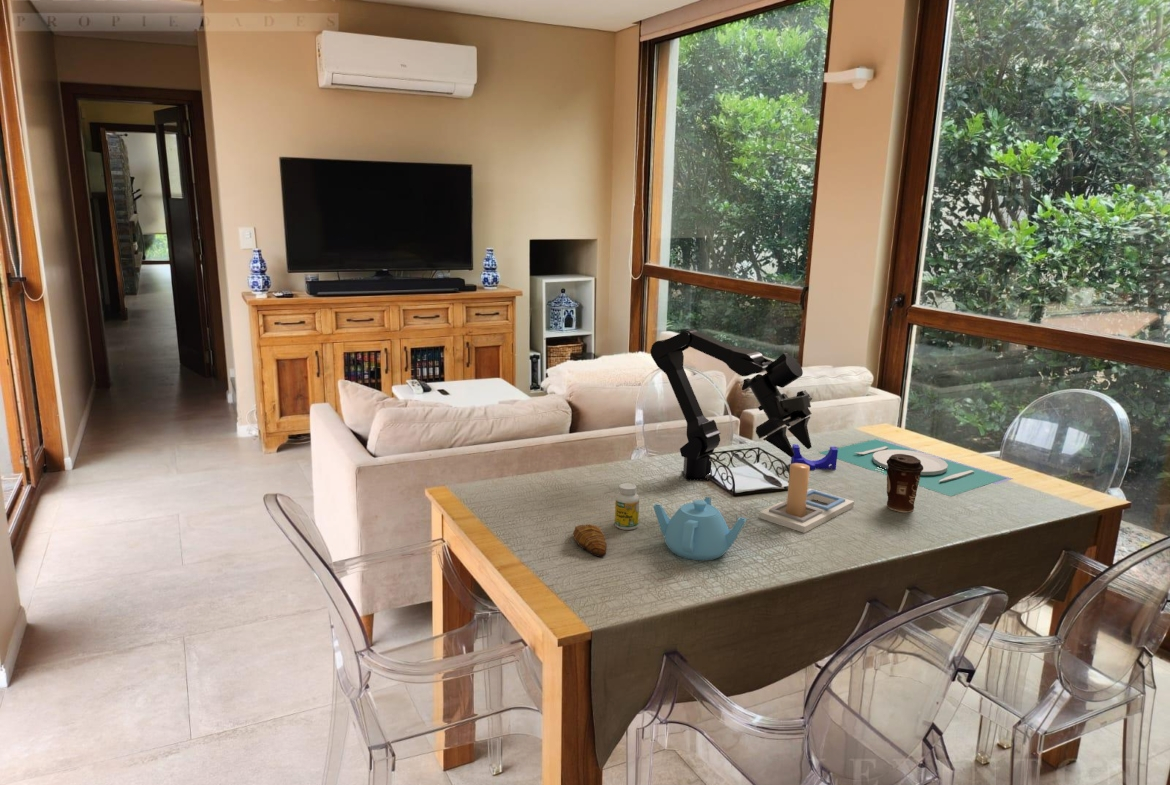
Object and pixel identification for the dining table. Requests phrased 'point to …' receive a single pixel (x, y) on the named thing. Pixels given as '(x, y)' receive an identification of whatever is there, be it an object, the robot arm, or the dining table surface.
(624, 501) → the supplement bottle
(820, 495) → the socket tray
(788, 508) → the orange plug
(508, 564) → the dining table surface
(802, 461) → the blue cradle holder
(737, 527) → the teapot
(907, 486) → the coffee cup
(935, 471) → the place mat
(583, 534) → the croissant
